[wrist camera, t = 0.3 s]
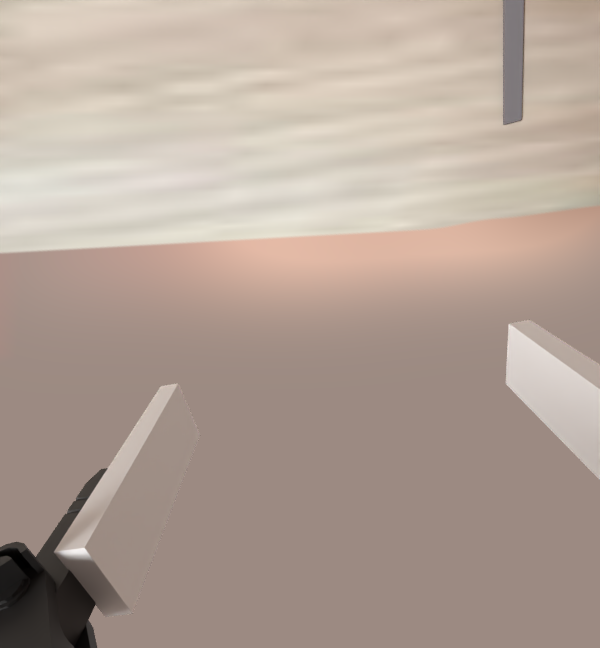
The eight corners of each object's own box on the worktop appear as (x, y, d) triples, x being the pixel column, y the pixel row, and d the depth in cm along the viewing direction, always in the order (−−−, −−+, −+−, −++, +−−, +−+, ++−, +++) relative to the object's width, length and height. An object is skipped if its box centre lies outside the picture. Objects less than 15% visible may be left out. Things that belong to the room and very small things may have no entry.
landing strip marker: (503, -129, 27) (505, -132, 27) (524, -136, 27) (526, -139, 27) (503, 124, 34) (505, 124, 34) (519, 120, 34) (521, 119, 34)
